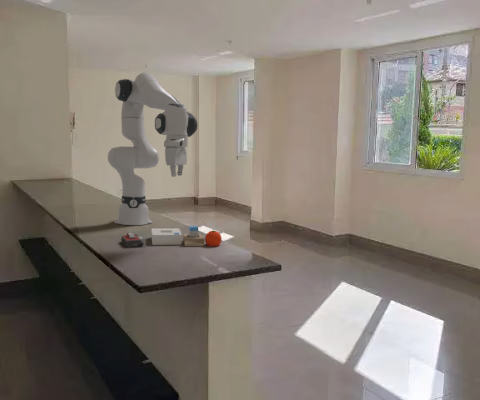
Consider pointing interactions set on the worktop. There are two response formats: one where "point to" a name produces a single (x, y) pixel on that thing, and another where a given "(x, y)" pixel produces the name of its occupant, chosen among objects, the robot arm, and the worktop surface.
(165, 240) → the port
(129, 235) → the walkie-talkie
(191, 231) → the plug
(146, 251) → the worktop surface
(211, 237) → the clementine
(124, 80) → the robot arm
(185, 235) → the holster
